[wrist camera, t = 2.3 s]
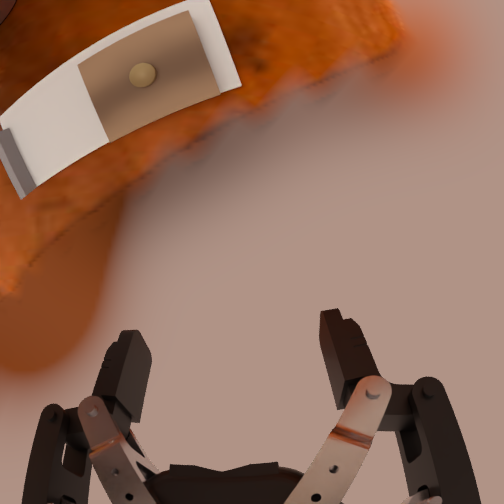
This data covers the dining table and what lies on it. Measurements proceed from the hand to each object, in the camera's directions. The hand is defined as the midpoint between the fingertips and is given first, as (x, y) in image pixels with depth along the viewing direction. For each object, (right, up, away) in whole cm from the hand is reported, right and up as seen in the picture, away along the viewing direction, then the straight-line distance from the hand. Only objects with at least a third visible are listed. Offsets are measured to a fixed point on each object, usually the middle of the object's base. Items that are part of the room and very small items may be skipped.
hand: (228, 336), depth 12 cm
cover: (-8, +19, +9) cm, 22 cm away
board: (-13, +19, +10) cm, 25 cm away
